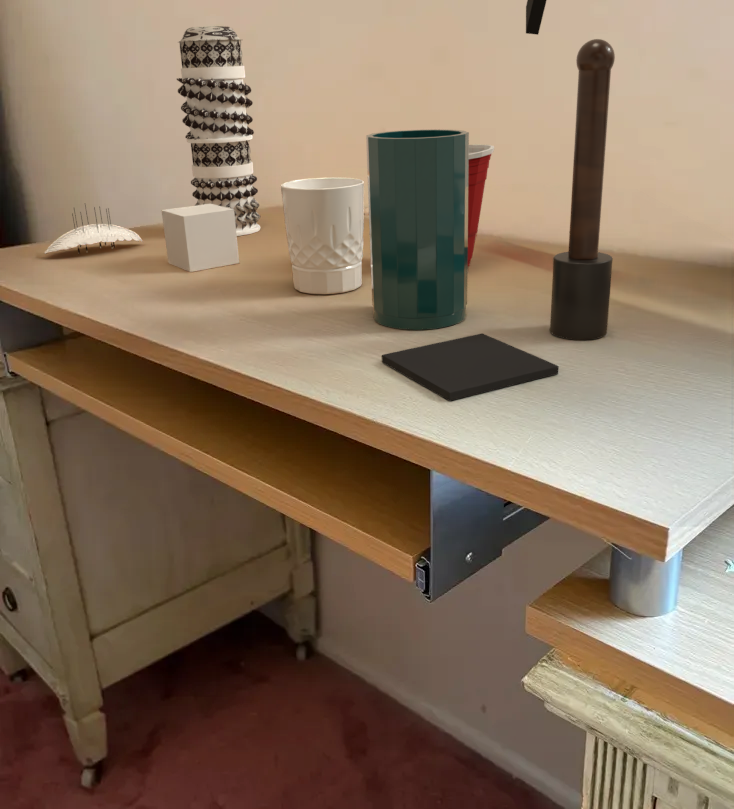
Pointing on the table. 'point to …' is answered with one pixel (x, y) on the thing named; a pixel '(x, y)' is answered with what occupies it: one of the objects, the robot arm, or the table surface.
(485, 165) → the plastic cup
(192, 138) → the bracelet display stand
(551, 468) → the table surface
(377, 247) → the tumbler
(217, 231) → the off-white cube
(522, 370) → the mat
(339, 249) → the white cup
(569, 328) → the bottle brush
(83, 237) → the pincushion
